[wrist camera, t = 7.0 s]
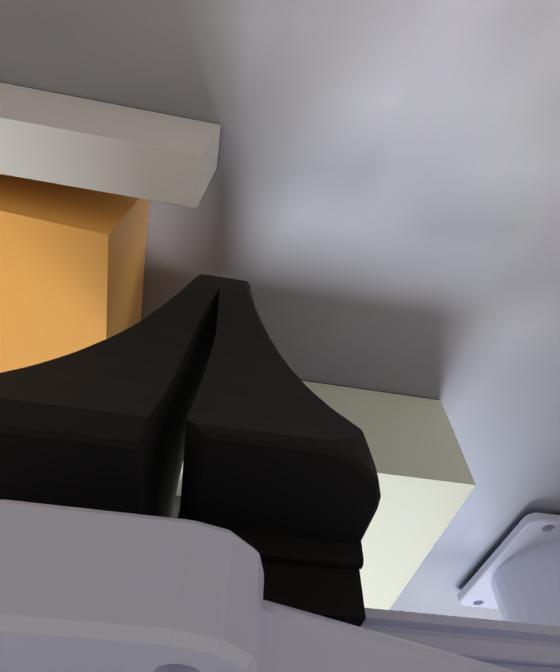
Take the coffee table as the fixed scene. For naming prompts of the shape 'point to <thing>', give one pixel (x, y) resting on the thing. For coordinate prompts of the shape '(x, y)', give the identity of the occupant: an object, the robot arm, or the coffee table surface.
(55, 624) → the robot arm
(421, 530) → the white notched block
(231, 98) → the coffee table surface
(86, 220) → the chute block
